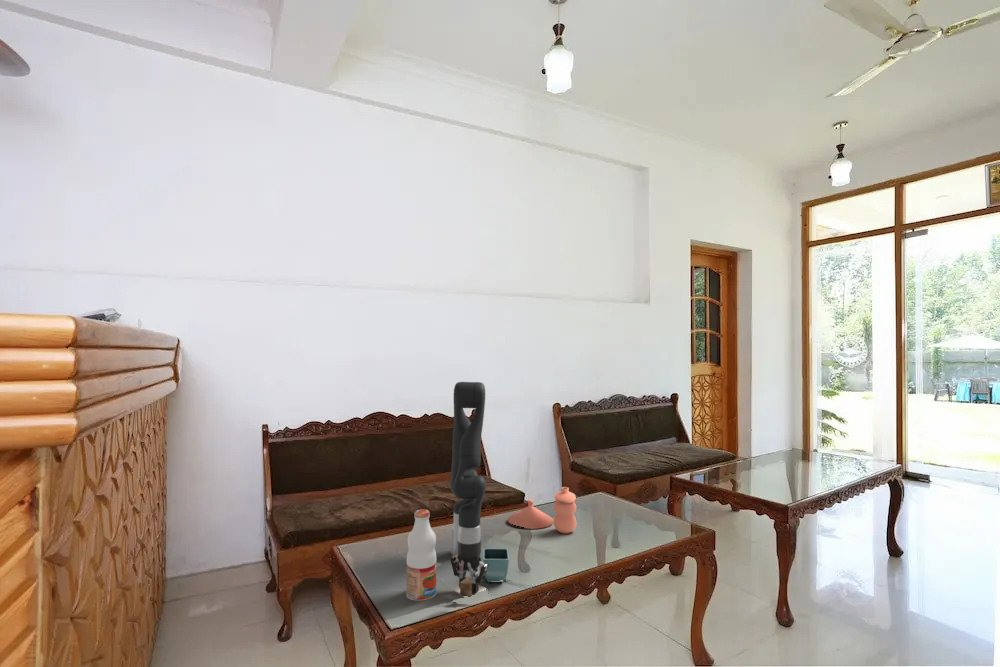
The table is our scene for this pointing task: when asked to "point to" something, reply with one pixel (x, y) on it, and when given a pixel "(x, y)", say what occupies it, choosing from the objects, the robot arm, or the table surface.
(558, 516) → the ceramic vessels
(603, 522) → the table surface
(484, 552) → the flower pot
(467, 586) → the lid
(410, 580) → the fruit juice
